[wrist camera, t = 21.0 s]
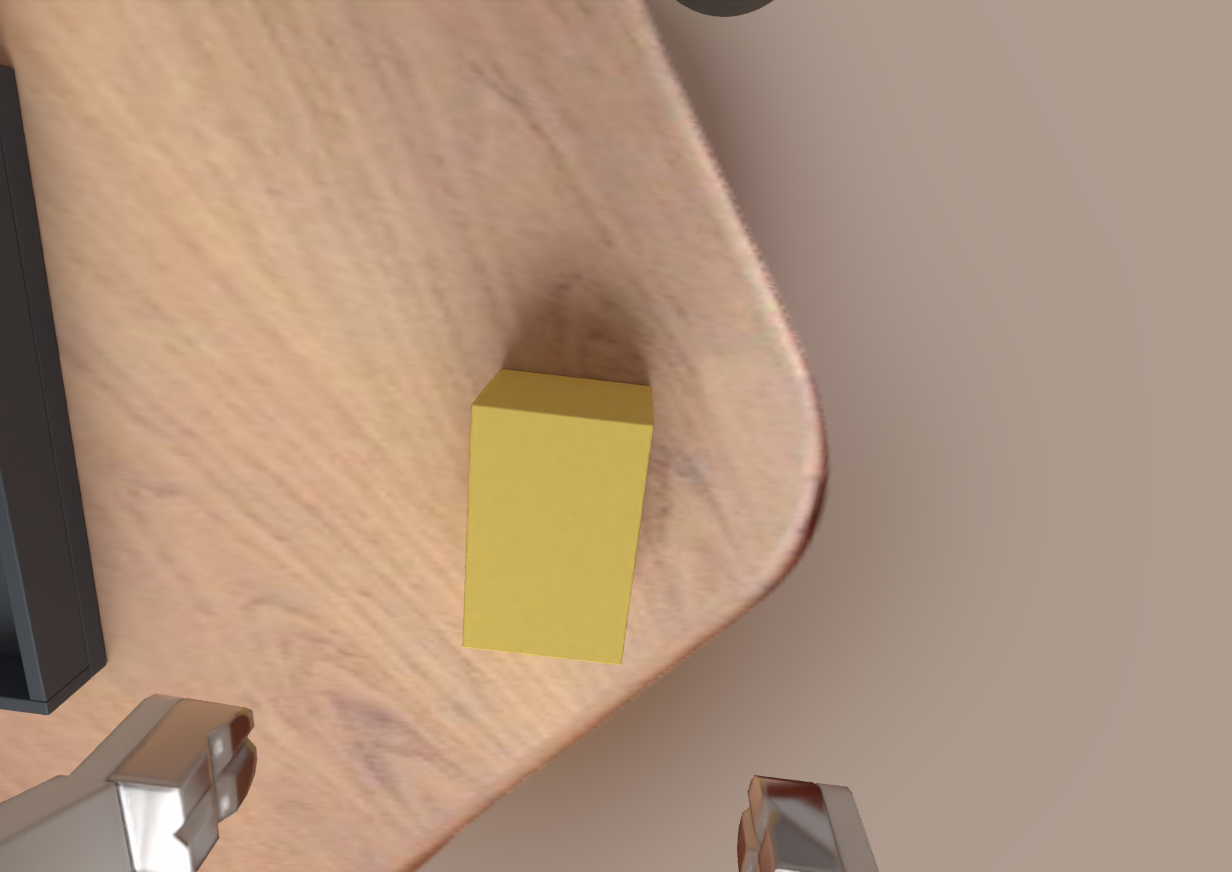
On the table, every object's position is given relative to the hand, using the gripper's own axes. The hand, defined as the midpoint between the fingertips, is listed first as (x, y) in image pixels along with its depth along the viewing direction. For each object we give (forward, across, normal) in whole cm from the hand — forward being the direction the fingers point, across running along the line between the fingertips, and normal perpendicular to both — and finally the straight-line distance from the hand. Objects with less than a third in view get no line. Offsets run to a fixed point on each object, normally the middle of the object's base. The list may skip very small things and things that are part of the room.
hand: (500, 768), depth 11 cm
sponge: (+13, 0, +1) cm, 13 cm away
